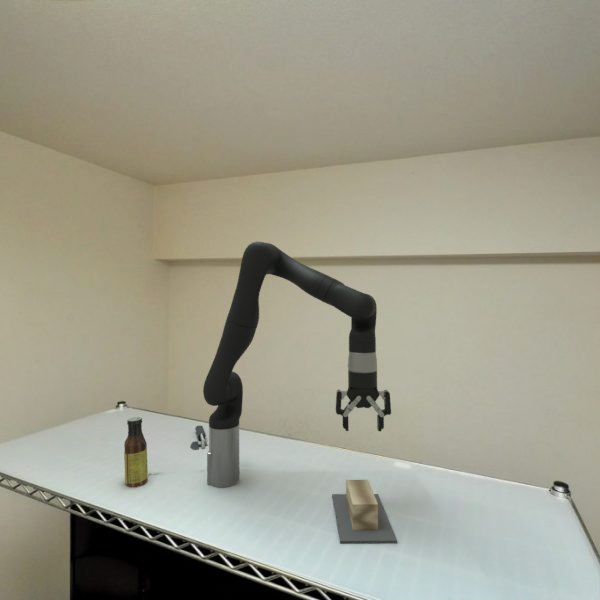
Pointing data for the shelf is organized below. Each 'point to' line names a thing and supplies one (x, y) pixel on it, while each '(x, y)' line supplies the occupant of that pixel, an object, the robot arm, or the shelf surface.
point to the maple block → (361, 505)
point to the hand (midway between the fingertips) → (363, 430)
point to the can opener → (201, 437)
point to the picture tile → (361, 536)
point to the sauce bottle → (135, 454)
